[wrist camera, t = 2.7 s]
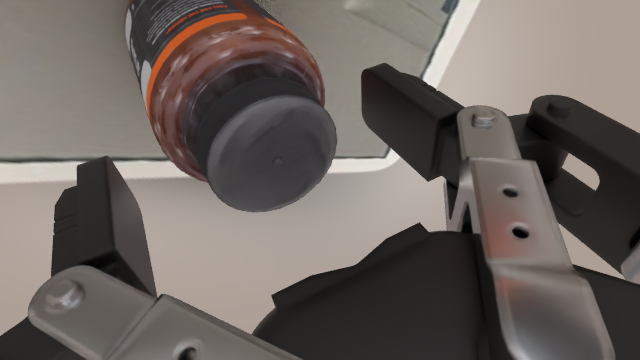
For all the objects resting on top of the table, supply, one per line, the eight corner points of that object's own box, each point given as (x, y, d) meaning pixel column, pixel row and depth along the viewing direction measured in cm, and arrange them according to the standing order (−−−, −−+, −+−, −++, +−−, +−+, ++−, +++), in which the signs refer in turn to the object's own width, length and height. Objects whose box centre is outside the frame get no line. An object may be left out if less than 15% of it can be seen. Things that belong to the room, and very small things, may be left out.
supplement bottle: (97, 47, 17) (115, 210, 9) (166, -73, 15) (257, 0, 8) (210, 107, 21) (287, 252, 13) (272, 17, 19) (400, 122, 12)
